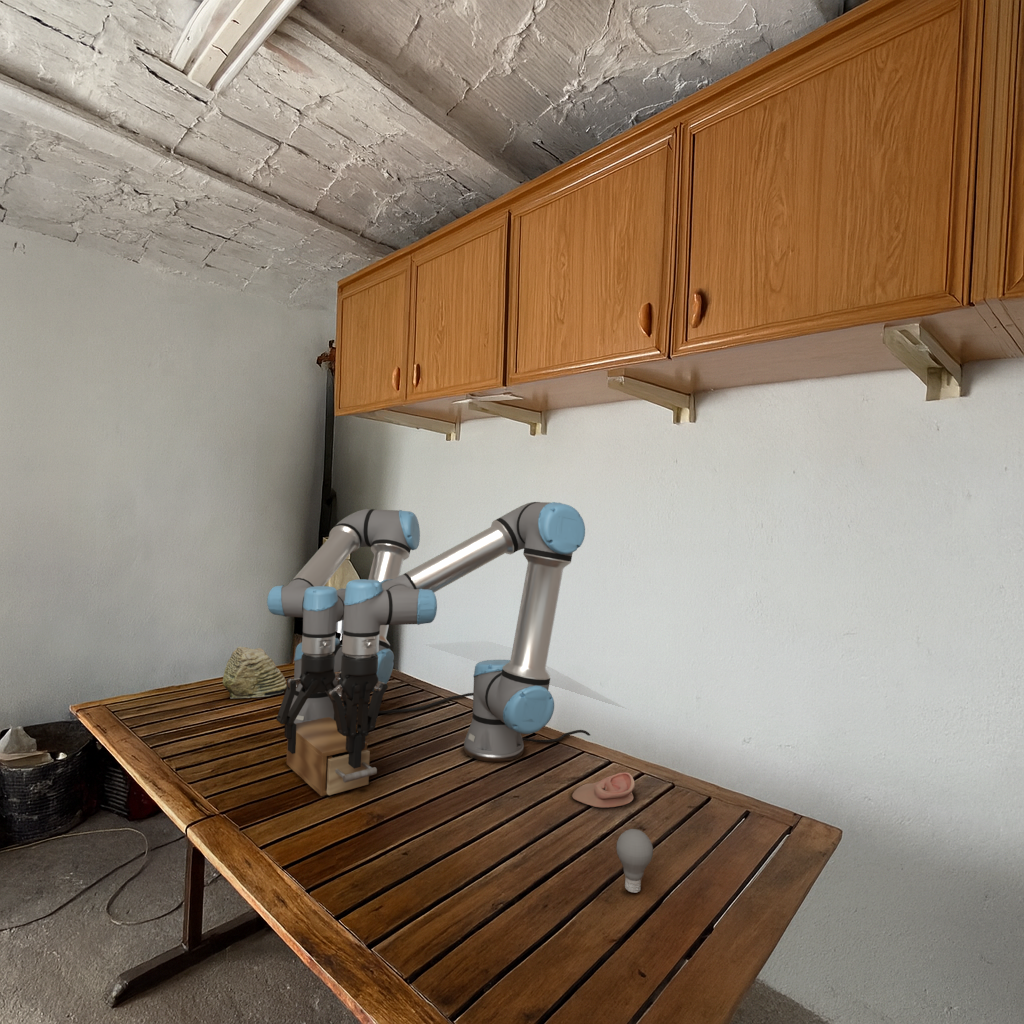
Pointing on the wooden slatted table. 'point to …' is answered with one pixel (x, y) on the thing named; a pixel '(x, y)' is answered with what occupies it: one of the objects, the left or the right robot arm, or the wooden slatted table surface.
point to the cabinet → (316, 751)
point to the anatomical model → (607, 791)
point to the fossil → (252, 674)
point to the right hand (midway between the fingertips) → (354, 765)
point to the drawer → (347, 772)
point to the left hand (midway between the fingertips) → (314, 746)
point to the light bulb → (634, 857)
